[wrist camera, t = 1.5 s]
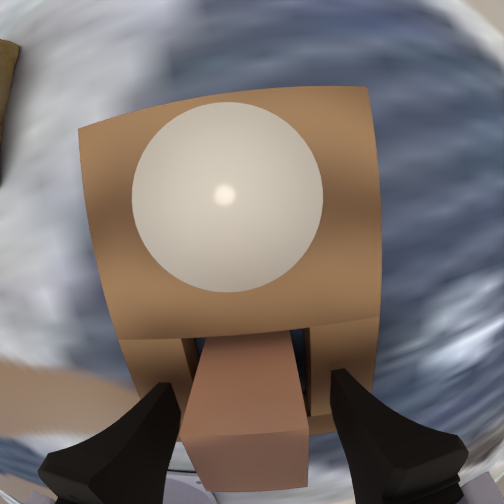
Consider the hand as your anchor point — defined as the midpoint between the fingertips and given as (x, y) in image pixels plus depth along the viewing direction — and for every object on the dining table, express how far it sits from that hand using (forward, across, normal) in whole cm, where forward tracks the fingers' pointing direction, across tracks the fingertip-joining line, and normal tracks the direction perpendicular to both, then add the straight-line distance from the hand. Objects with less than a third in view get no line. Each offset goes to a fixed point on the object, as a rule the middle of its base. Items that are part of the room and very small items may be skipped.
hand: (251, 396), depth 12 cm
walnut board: (+3, 0, -4) cm, 5 cm away
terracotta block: (+3, 0, 0) cm, 3 cm away
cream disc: (+1, 0, -8) cm, 8 cm away
